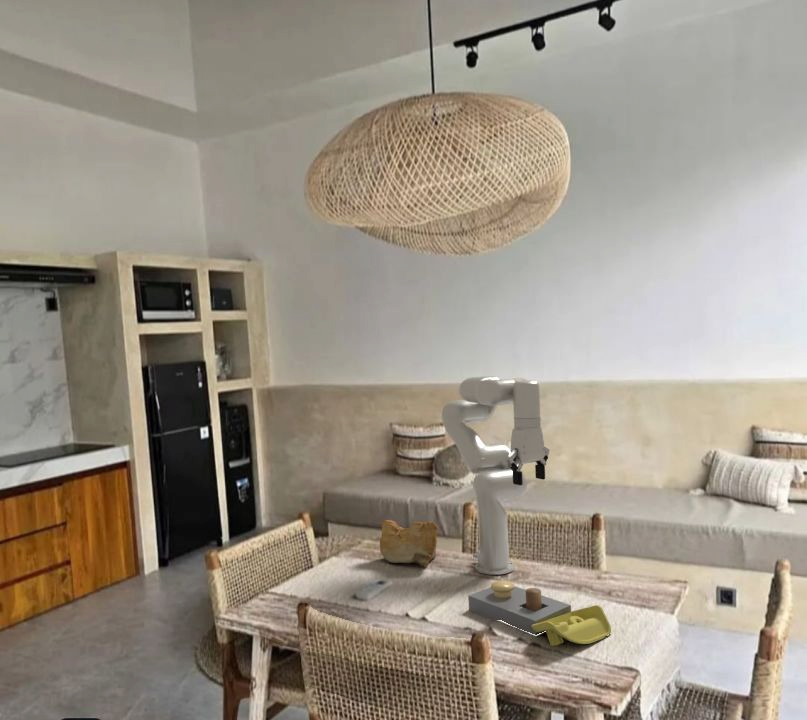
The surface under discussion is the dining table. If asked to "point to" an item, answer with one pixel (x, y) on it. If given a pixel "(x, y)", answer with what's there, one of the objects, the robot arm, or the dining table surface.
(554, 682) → the dining table surface
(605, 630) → the plastic component
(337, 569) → the dining table surface
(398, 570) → the dining table surface
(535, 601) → the gear shaft
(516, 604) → the grey block with hole
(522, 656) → the dining table surface
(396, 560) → the rough brown rock
